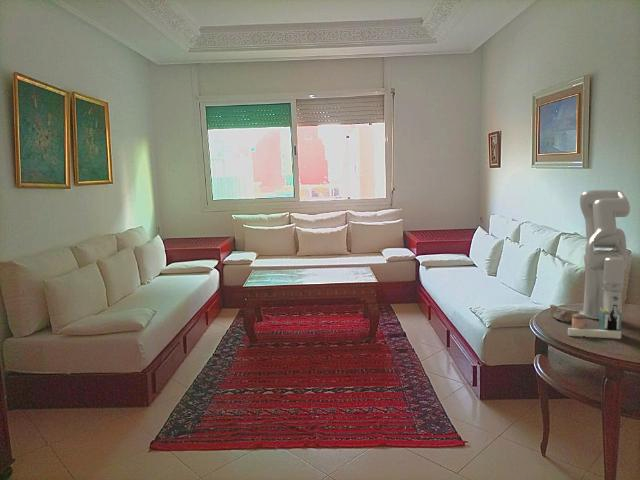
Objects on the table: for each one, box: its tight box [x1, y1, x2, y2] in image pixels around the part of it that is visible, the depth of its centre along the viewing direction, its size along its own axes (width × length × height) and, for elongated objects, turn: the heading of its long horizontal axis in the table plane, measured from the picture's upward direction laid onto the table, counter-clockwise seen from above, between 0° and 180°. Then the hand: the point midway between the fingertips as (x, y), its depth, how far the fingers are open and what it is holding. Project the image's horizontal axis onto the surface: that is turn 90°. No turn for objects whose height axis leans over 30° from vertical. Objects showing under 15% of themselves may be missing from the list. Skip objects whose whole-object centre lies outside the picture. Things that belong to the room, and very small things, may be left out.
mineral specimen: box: [549, 304, 579, 323], centre depth 230 cm, size 13×7×6 cm, turn 47°
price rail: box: [567, 327, 622, 340], centre depth 208 cm, size 1×20×3 cm, turn 74°
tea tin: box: [598, 307, 623, 332], centre depth 210 cm, size 5×7×9 cm
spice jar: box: [571, 313, 586, 329], centre depth 213 cm, size 5×5×8 cm
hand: (609, 326), depth 210 cm, fingers closed on tea tin, 5 cm apart
